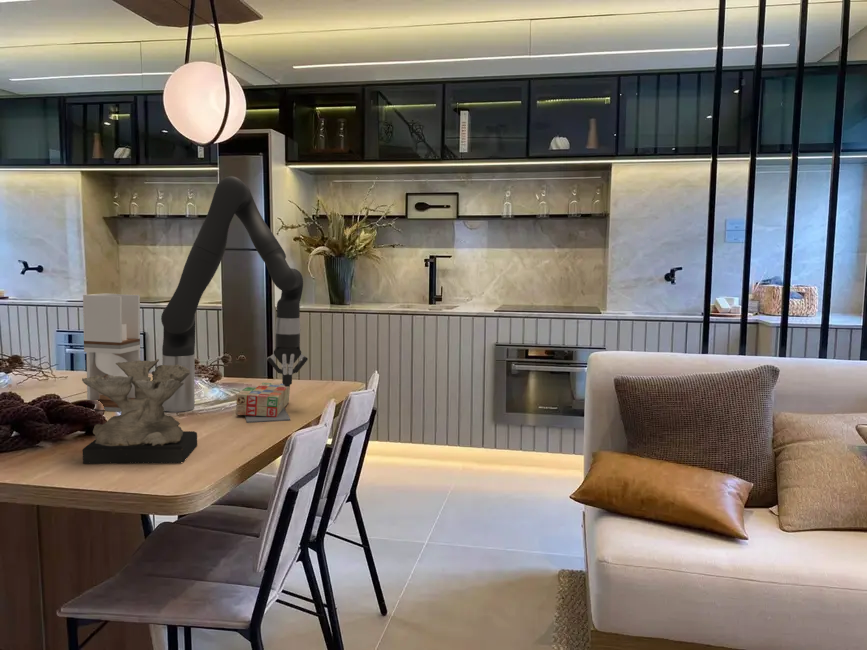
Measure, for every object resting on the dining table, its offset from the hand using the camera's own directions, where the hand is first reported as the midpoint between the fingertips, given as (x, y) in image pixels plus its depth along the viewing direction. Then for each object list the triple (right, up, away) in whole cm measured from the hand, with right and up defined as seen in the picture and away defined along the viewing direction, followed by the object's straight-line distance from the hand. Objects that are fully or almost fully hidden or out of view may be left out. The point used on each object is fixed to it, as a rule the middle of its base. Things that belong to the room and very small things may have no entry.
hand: (286, 386), depth 188 cm
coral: (-25, -11, -44) cm, 52 cm away
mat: (-6, -8, -2) cm, 10 cm away
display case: (-54, -6, -3) cm, 54 cm away
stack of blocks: (-1, -4, +1) cm, 5 cm away
